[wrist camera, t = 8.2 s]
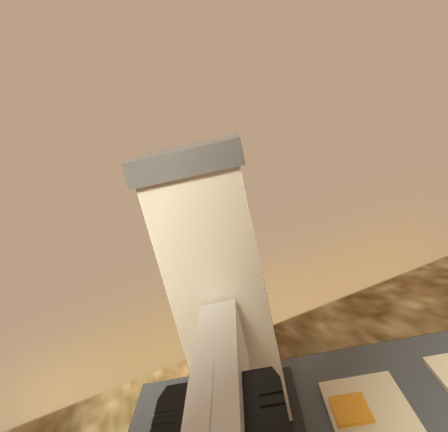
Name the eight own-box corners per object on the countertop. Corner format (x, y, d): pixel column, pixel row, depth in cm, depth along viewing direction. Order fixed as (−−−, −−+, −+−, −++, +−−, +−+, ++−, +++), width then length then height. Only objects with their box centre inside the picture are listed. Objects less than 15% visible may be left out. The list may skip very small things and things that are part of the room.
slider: (283, 358, 20) (236, 132, 16) (298, 423, 15) (240, 137, 12) (209, 371, 20) (148, 152, 17) (203, 438, 16) (121, 163, 12)
